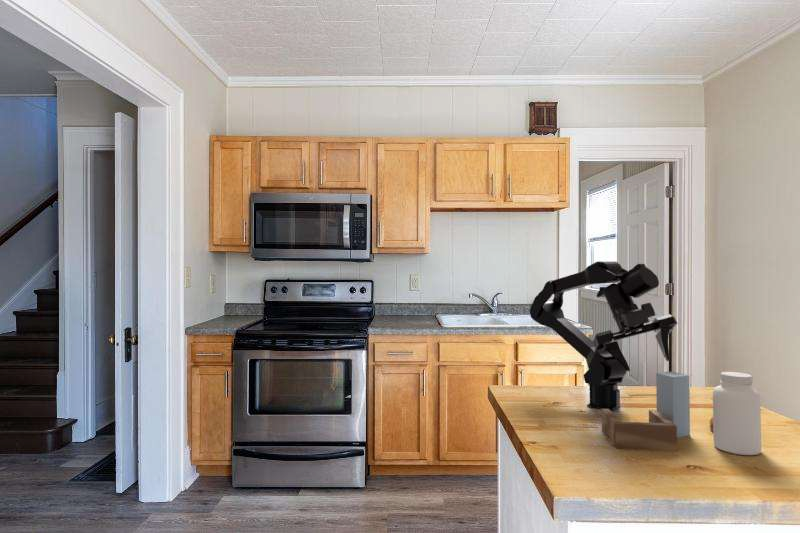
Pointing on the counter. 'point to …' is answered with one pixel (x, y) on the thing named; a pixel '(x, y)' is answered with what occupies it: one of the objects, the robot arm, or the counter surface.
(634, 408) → the counter surface
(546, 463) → the counter surface
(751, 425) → the pill bottle
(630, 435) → the brown wooden tray
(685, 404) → the block
